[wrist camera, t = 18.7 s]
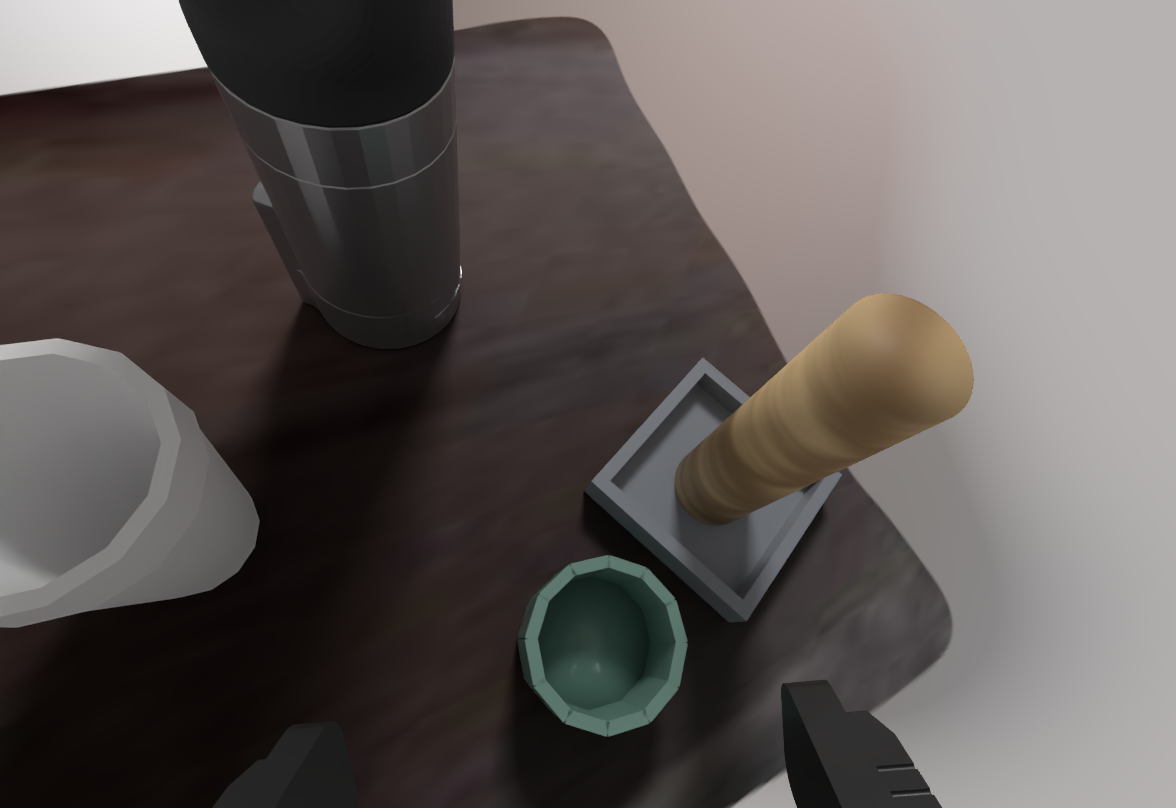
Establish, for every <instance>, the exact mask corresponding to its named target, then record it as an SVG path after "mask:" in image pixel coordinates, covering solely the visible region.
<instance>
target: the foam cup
mask: <svg viewBox="0 0 1176 808" xmlns="http://www.w3.org/2000/svg"><path fill="white" fill-rule="evenodd" d="M259 521H260V520H259V517H258V514H257V512H256V509H255V506H254V503H253V500H252V498H251V497H250V495H249V493H248V492H247V490H246V489H245V488H244V487H243V485H242V484H241V483H240V481H239V480H238V479H237V477H236V476H235V475H234V473H233V472H232V471H231V469H230V468H229V467H228V466H227V464H226V463H225V462H224V460H223V459H222V458H221V456H220V455H219V454H218V452H217V451H216V450H215V449H214V447H213V446H212V445H211V443H210V442H209V441H208V439H207V438H206V437H205V435H204V434H203V433H202V431H201V430H200V429H199V426H198V423H197V420H196V417H195V414H194V412H193V411H192V410H191V409H190V408H188V407H187V406H186V405H185V404H183V403H182V402H181V401H180V400H179V399H177V398H176V397H175V396H174V395H172V394H171V393H170V392H169V391H167V390H166V389H165V388H164V387H163V386H161V385H160V384H159V383H158V382H156V381H155V380H154V379H153V378H151V377H150V376H149V375H148V374H147V373H145V372H144V371H143V370H142V369H140V368H139V367H138V366H137V365H135V364H134V363H133V362H132V361H130V360H129V359H128V358H127V357H125V356H124V355H123V354H122V353H120V352H115V351H111V350H107V349H102V348H98V347H94V346H89V345H85V344H81V343H76V342H72V341H68V340H63V339H59V338H56V339H48V340H40V341H32V342H24V343H16V344H8V345H0V627H21V626H26V625H30V624H34V623H38V622H43V621H47V620H51V619H56V618H60V617H64V616H68V615H73V614H77V613H81V612H85V611H92V610H99V609H106V608H113V607H120V606H126V605H133V604H140V603H147V602H154V601H161V600H168V599H175V598H179V597H184V596H188V595H193V594H197V593H201V592H205V591H209V590H212V589H214V588H215V587H217V586H218V585H220V584H221V583H223V582H224V581H225V580H227V579H228V578H230V577H231V576H233V575H234V574H236V573H237V572H238V571H239V570H240V568H241V567H242V565H243V564H244V563H245V561H246V560H247V558H248V557H249V555H250V554H251V552H252V551H253V549H254V548H255V545H256V539H257V533H258V527H259Z"/></svg>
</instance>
